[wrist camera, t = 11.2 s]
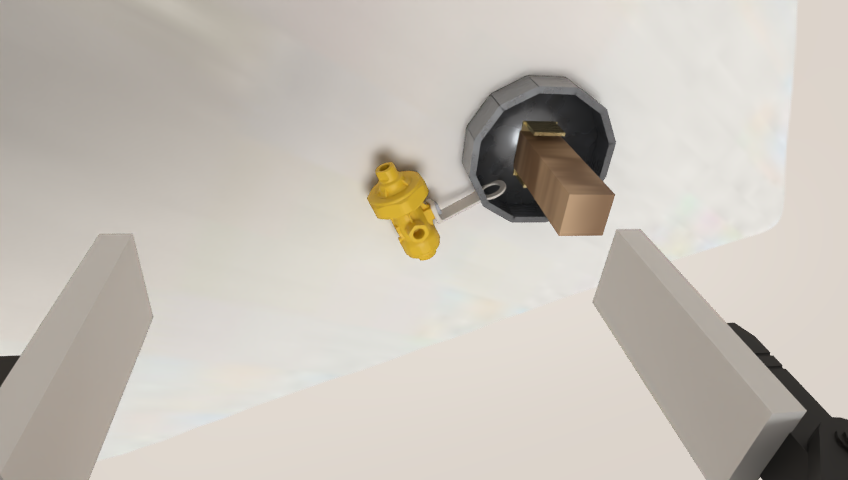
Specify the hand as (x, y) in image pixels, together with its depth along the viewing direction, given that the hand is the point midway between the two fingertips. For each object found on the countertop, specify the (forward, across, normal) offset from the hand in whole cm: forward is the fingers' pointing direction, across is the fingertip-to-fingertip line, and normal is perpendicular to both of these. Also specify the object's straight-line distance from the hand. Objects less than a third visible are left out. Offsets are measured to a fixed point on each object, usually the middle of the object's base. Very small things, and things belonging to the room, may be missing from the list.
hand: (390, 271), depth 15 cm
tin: (+32, +17, -10) cm, 38 cm away
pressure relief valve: (+32, +8, -14) cm, 36 cm away
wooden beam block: (+32, +17, -10) cm, 37 cm away
